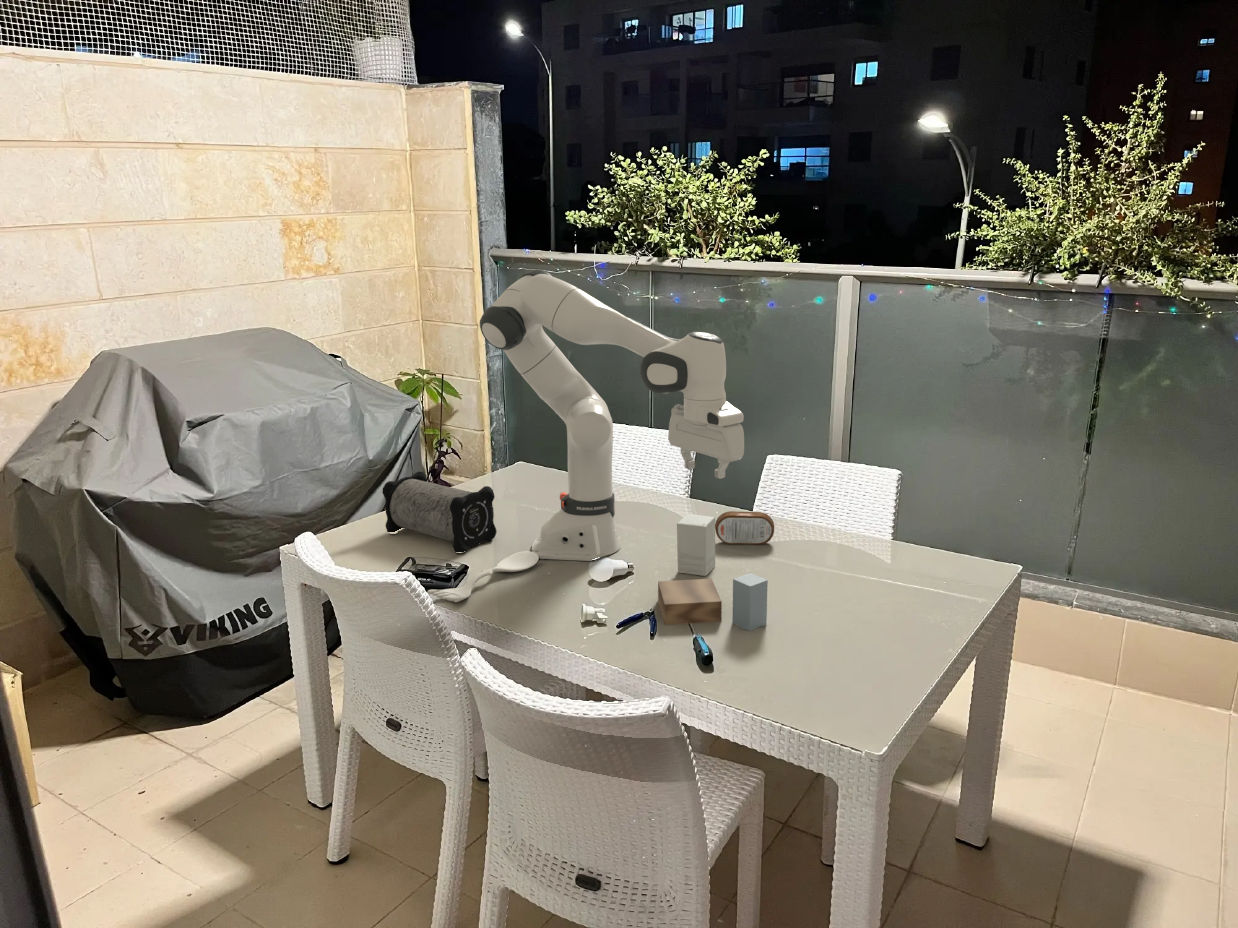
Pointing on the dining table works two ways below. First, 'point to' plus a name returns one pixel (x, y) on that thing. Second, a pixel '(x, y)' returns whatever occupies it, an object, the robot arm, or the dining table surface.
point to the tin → (744, 528)
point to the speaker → (440, 511)
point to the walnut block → (689, 601)
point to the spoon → (507, 564)
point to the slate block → (749, 601)
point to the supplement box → (696, 544)
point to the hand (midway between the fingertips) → (704, 472)
